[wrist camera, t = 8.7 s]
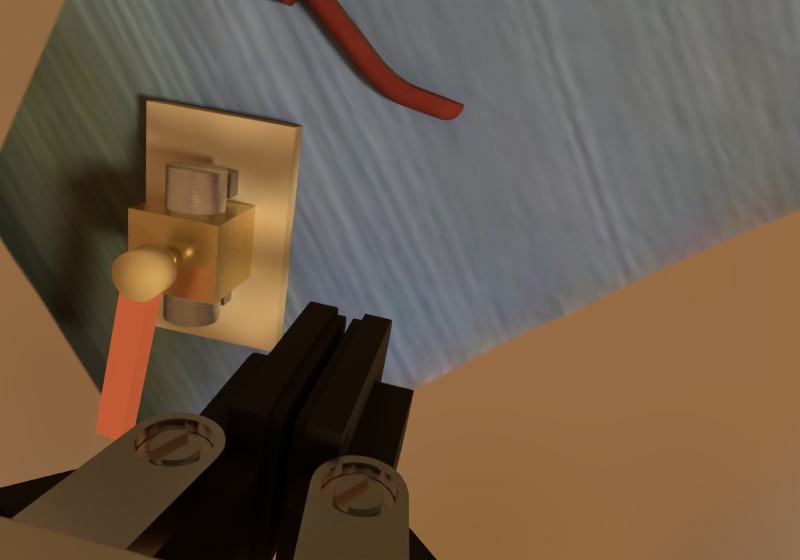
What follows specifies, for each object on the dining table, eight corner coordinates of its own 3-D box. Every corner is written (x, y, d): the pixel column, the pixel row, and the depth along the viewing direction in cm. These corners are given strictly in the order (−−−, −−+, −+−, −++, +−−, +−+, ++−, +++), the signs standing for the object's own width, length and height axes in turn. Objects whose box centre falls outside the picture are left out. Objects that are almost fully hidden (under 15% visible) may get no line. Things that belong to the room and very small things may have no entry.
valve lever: (135, 236, 34) (115, 245, 32) (181, 254, 33) (164, 263, 32) (103, 413, 38) (85, 429, 36) (144, 429, 38) (127, 446, 36)
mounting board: (159, 99, 40) (146, 100, 39) (302, 125, 39) (295, 127, 38) (155, 316, 46) (144, 323, 44) (281, 343, 45) (274, 352, 43)
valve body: (177, 153, 40) (108, 170, 33) (258, 168, 39) (205, 189, 32) (173, 292, 43) (111, 334, 36) (248, 308, 43) (198, 354, 36)
